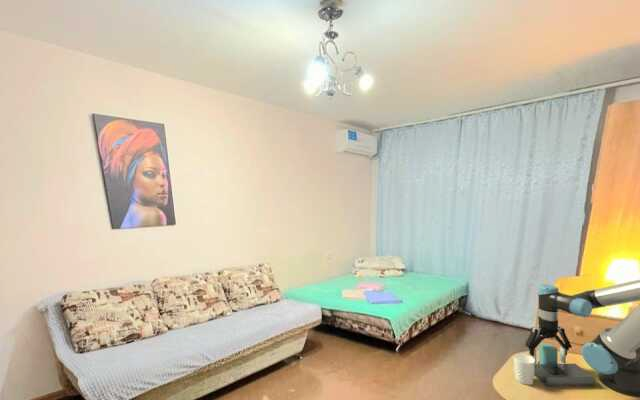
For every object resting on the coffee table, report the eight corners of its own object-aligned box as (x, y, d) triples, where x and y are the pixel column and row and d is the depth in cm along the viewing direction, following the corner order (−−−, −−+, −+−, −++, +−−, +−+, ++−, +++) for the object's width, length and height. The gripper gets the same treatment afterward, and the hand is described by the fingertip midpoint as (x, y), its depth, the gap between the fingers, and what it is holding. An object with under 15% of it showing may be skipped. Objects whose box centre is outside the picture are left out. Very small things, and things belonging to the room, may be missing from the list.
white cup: (538, 386, 131) (538, 364, 131) (518, 385, 133) (518, 362, 132) (529, 375, 139) (529, 354, 138) (510, 374, 140) (510, 352, 140)
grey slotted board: (575, 372, 141) (575, 363, 140) (594, 386, 131) (594, 376, 130) (531, 372, 141) (531, 364, 141) (546, 386, 131) (546, 377, 131)
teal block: (549, 363, 148) (549, 343, 147) (557, 369, 143) (557, 348, 142) (539, 363, 148) (539, 343, 147) (546, 369, 143) (546, 348, 142)
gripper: (568, 314, 148) (568, 357, 149) (516, 315, 148) (516, 357, 149) (581, 321, 140) (581, 366, 141) (526, 322, 141) (526, 366, 142)
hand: (548, 361), depth 145 cm, fingers open, 13 cm apart
